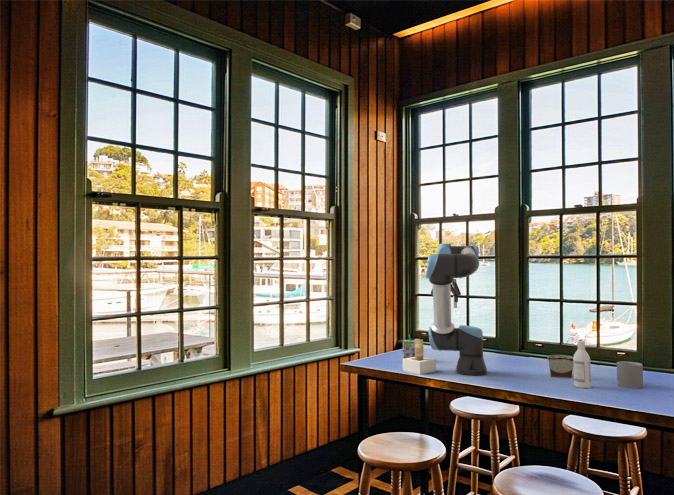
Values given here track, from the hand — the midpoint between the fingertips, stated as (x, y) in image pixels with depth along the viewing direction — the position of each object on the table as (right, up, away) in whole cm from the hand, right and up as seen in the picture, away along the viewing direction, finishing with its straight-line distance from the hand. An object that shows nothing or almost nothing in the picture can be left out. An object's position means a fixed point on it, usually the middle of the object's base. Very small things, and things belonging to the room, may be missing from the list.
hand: (445, 307), depth 277 cm
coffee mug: (+70, -28, -60) cm, 96 cm away
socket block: (-20, -29, -28) cm, 45 cm away
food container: (+47, -29, -41) cm, 69 cm away
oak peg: (-20, -29, -28) cm, 45 cm away
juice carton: (-20, -31, +1) cm, 37 cm away
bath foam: (+47, -28, -63) cm, 83 cm away
